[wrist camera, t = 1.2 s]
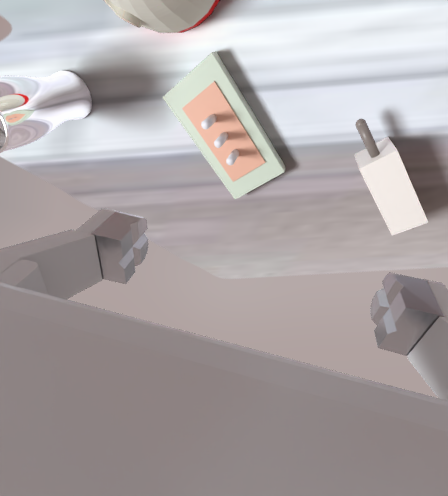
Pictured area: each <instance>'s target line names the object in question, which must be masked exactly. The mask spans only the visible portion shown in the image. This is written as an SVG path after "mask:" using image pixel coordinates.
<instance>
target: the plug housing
mask: <svg viewBox="0 0 448 496" xmlns="http://www.w3.org/2000/svg"><path fill="white" fill-rule="evenodd" d="M356 127H357V130H358V132H359V134H360V136H361V138H362V140H363V142H364V144H365V146H366V148H365V149H363V150H361V151H360V152H358V153H356V154H354V155H355V158H356V161H357V164H358V167H359V170H360V172H361V174H362V176H363V178H364V180H365V182H366V184H367V186H368V188H369V190H370V192H371V194H372V196H373V198H374V200H375V202H376V204H377V206H378V208H379V210H380V212H381V214H382V216H383V218H384V220H385V222H386V224H387V226H388V228H389V230H390V232H391V234H392V235H395V234H398V233H400V232H403V231H406V230H409V229H411V228H414V227H417V226H420V225H422V224H425V223H428V220H427V218H426V216H425V213H424V211H423V209H422V206H421V204H420V202H419V199H418V197H417V195H416V192H415V190H414V188H413V185H412V183H411V181H410V179H409V176H408V174H407V172H406V169H405V167H404V165H403V162H402V160H401V158H400V155H399V153H398V151H397V149H396V147H395V146H394V145H393V143H392V142H391V140H390V139H389V137H386V138H384V139H382V140H381V141H379V142H377V143H375V141H374V139H373V137H372V134H371V132H370V130H369V128H368V126H367V123H366V121H365V120H364V119H359V120H357V122H356Z"/></svg>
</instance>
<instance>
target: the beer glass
mask: <svg viewBox="0 0 448 496" xmlns="http://www.w3.org/2000/svg"><path fill="white" fill-rule="evenodd" d="M91 107H92V99H91V95H90V92H89V89H88V87H87V86H86V84H85V83H84V82H83V80H82V79H81V78H80V77H79V76H77V75H76V74H74V73H72V72H70V71H59V72H56V73H54V74H53V75H51V76H49V77H44V78H38V77H26V76H0V153H1V152H4V151H7V150H11V149H15V148H18V147H21V146H24V145H27V144H30V143H32V142H34V141H37V140H39V139H41V138H42V137H44V136H45V135H47V134H49V133H50V132H51V131H53V130H54V129H55V128H57V127H58V126H59V125H61V124H62V123H63V122H65V121H68V120H78V119H83V118H85V117H86V116H87V115H88V114H89V113H90V111H91Z"/></svg>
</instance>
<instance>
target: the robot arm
mask: <svg viewBox="0 0 448 496" xmlns="http://www.w3.org/2000/svg"><path fill="white" fill-rule="evenodd" d="M146 230H147V220H146V219H145V218H144V217H140V216H136V215H132V214H128V213H124V212H120V211H116V210H111V209H106V208H104V209H101V210H100V211H98V212H97V213H96V214H95V215H94V216H92V217H91V218H90V219H89V220H88V221H86V222H85V223H84V224H83V225H82V226H80V227H79V228H78V229H77V230H68V231H64V232H60V233H57V234H53V235H49V236H46V237H42V238H38V239H35V240H31V241H28V242H24V243H20V244H16V245H13V246H9V247H5V248H2V249H0V496H448V290H447V288H446V286H445V285H444V284H443V283H441V282H436V281H430V280H425V279H419V278H414V277H409V276H403V275H399V274H395V273H389V274H387V275H386V277H385V278H384V280H383V286H384V289H381V290H379V291H377V292H376V294H375V296H374V298H373V300H372V304H371V318H372V320H373V321H374V323H375V324H376V325H377V327H376V329H375V330H374V332H375V336H376V341H377V345H378V348H380V349H384V350H388V351H391V352H395V353H399V354H402V355H406V356H407V358H408V360H409V361H410V362H411V363H412V365H413V366H414V367H415V369H416V370H417V371H418V372H419V374H420V375H421V376H422V378H423V379H424V380H425V381H426V383H427V384H428V385H429V386H430V388H431V389H432V390H433V392H434V393H435V394H436V396H437V397H438V398H435V397H432V396H427V395H424V394H420V393H416V392H413V391H409V390H405V389H401V388H397V387H393V386H389V385H386V384H382V383H378V382H374V381H371V380H367V379H363V378H360V377H356V376H352V375H349V374H345V373H341V372H337V371H333V370H330V369H326V368H322V367H318V366H315V365H311V364H308V363H304V362H300V361H296V360H292V359H289V358H285V357H281V356H278V355H274V354H270V353H266V352H263V351H259V350H255V349H251V348H247V347H244V346H240V345H236V344H232V343H229V342H224V341H221V340H217V339H213V338H210V337H206V336H202V335H198V334H195V333H190V332H187V331H183V330H180V329H175V328H172V327H168V326H164V325H160V324H157V323H153V322H149V321H145V320H142V319H138V318H134V317H131V316H127V315H123V314H119V313H116V312H112V311H108V310H104V309H101V308H97V307H93V306H89V305H86V304H81V303H78V302H74V301H70V300H67V299H68V298H70V297H72V296H74V295H76V294H77V293H79V292H81V291H83V290H85V289H87V288H89V287H91V286H92V285H94V284H96V283H98V282H100V281H102V279H105V280H110V281H115V282H119V283H123V284H126V283H127V282H128V281H129V279H130V278H131V276H132V275H133V274H134V273H135V266H137V265H139V264H141V263H142V262H143V260H144V259H145V256H146V254H147V250H148V238H147V237H146V235H145V234H144V232H145V231H146Z"/></svg>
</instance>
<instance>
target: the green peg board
mask: <svg viewBox="0 0 448 496" xmlns="http://www.w3.org/2000/svg"><path fill="white" fill-rule="evenodd" d="M162 98H163V99H164V100H165V102H166V103H167V105H168V106H169V107H170V109H171V110H172V112H173V113H174V114H175V116H176V117H177V119H178V120H179V122H180V123H181V124H182V126H183V127H184V129H185V130H186V131H187V133H188V134H189V136H190V137H191V138H192V140H193V141H194V143H195V144H196V145H197V147H198V148H199V150H200V151H201V152H202V154H203V155H204V157H205V158H206V160H207V161H208V162H209V164H210V165H211V167H212V168H213V169H214V171H215V172H216V174H217V175H218V176H219V178H220V179H221V181H222V182H223V183H224V185H225V186H226V188H227V189H228V190H229V192H230V193H231V195H232V196H233V198H234V199H237V198H239V197H241V196H243V195H244V194H246V193H248V192H250V191H251V190H253V189H255V188H257V187H259V186H260V185H262V184H264V183H266V182H268V181H269V180H271V179H273V178H275V177H277V176H278V175H280V174H282V173H284V172H285V167H286V166H285V165H284V163H283V161H282V160H281V158H280V156H279V155H278V153H277V151H276V150H275V148H274V146H273V145H272V143H271V142H270V140H269V138H268V137H267V135H266V133H265V132H264V130H263V128H262V127H261V125H260V123H259V122H258V120H257V118H256V117H255V115H254V113H253V112H252V110H251V108H250V107H249V105H248V103H247V102H246V100H245V98H244V97H243V95H242V93H241V92H240V90H239V88H238V87H237V85H236V83H235V82H234V80H233V78H232V77H231V75H230V73H229V72H228V70H227V68H226V67H225V65H224V64H223V62H222V60H221V59H220V57H219V55H218V54H217V52H212V53H211V54H210V55H208V56H207V57H206V58H205V59H204V60H203V61H202V62H201V63H200V64H199V65H197V66H196V67H195V68H194V69H193V70H192V71H191V72H190V73H189V74H188V75H186V76H185V77H184V78H183V79H182V80H181V81H180V82H179V83H178V84H177V85H175V86H174V87H173V88H172V89H171V90H170V91H169V92H168V93H167V94H166V95H164V96H163V97H162Z"/></svg>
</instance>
